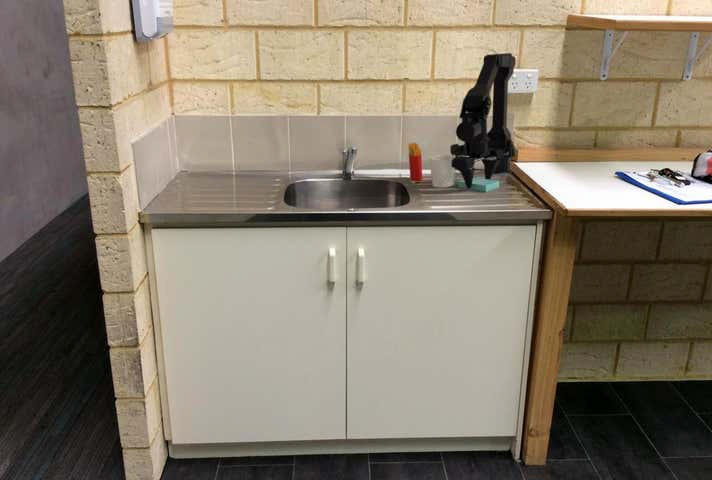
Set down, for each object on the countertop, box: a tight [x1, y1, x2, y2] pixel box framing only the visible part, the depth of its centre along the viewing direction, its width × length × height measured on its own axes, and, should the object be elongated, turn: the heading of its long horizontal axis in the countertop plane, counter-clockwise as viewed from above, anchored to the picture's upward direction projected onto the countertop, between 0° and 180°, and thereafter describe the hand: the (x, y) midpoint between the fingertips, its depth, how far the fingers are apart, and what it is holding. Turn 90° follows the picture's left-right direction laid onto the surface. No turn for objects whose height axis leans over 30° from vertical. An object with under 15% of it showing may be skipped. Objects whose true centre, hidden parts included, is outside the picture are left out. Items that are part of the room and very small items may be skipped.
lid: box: [457, 176, 500, 193], centre depth 190 cm, size 6×11×2 cm, turn 41°
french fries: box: [407, 142, 423, 183], centre depth 207 cm, size 9×4×13 cm, turn 175°
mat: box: [453, 185, 505, 195], centre depth 191 cm, size 10×12×1 cm
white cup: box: [429, 154, 455, 188], centre depth 196 cm, size 8×8×10 cm
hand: (478, 185), depth 190 cm, fingers open, 9 cm apart
